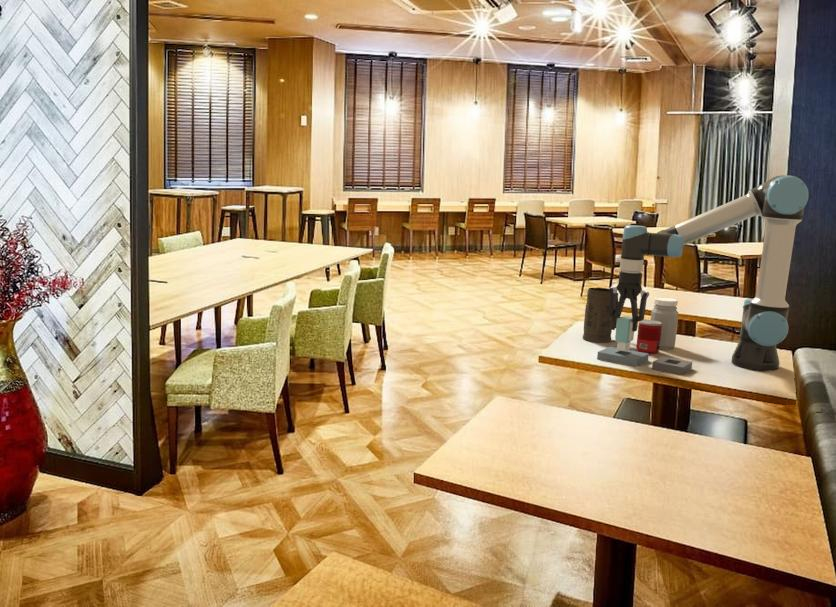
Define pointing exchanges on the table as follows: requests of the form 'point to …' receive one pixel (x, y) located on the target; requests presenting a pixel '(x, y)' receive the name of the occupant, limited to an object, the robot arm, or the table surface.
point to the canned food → (649, 336)
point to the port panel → (623, 356)
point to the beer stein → (598, 316)
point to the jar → (666, 320)
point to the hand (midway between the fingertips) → (624, 338)
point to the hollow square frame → (672, 365)
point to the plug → (623, 333)
